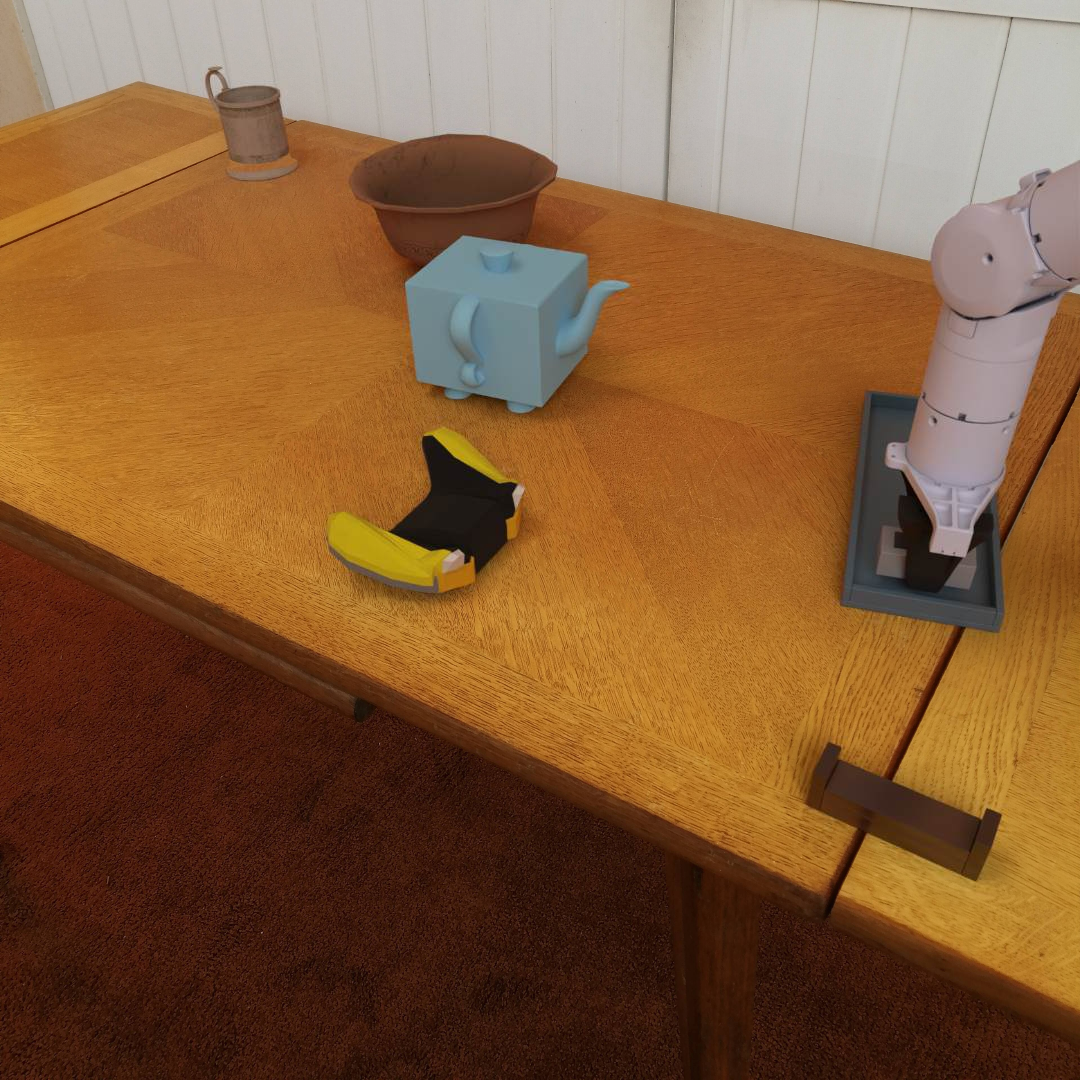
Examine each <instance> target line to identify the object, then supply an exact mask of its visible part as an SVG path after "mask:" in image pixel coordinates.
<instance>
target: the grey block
mask: <svg viewBox="0 0 1080 1080" xmlns="http://www.w3.org/2000/svg"><path fill="white" fill-rule="evenodd" d="M905 567H906V542H905V537H904V534H903V532H902V530H901V528H897V527H891V526H885V525H883V526H882V530H881V535H880V539H879V543H878V548H877V561H876V574H878V575H884V576H890V577H896V578H902V579H905ZM976 568H977V567H976V547H975V548H974V549H973V550H971V551H970V552H969V553H968V554H967V555H966V557H964V558H963V559H962V560H961V561H960V563H959V564H958V565H957V567H956V568H955V570H954V571H953V573H952V574H951V576H950V577H949V579H948V580H947V582H946V583H945V585H944V586H950V587H956V588H962V589H970V586H971V583H972V580H973V577H974V574H975V571H976Z"/></svg>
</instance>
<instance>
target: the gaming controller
mask: <svg viewBox="0 0 1080 1080" xmlns="http://www.w3.org/2000/svg"><path fill="white" fill-rule="evenodd" d="M421 450H422V454H423V457H424V462H425V466H426V470H427V474H428V478H429V483H430V484H429V485H430V490H429V492H428V493H427V495H426V496H425V498H423V499H422V501H420V503H418V504H417V506H416V507H414V508H413V509H412V510H411V511H410V512H409V513H408V514H407V515H405V516H404V518H402V519H401V521H399V522H398V523H397V524H396V525H395V526H394V527H393V528H392V529H390V530H385V529H383V528H380V527H378V526H376V524H373V523H371V522H370V521H368V520H366V519H364V518H362V517H359V516H358V515H355V514H353V513H350V512H349V511H347V510H342V511H338V512H333V513H329V515H328V518H327V522H326V523H327V525H326V541H327V547H328V551H329V552H330V553H331V554H332V555H333V556H334V557H335V558H336V559H337V560H338V561H340V563H342V564H343V566H344V567H346V568H347V569H348V570H350V571H352V572H355V573H358V574H360V575H362V576H365V577H368V578H370V579H373V580H375V581H377V582H380V583H382V584H384V585H387V586H389V587H392V588H397V589H402V590H407V591H411V592H415V593H416V592H417V593H423V594H438V595H440V594H444V593H447V592H450V591H452V590H455V589H457V588H461V587H465V586H470V585H472V584H473V583H475V582H476V576H477V575H478V574H479V573H480V572H481V571H482V569H484V567H485V566H486V565H488V563H489V562H490V561H491V560H492V559H493V558H494V557H495V555H497V553H498V552H499V551H500V550H501V549H502V548H503V547H504V545H505V544H507V543H508V541H510V540H512V539H515V538H517V537H518V535H519V532H520V527H521V522H522V514H523V504H522V497H523V494H524V492H525V490H526V486H525V485H523V484H522V483H520V481H519V480H517V479H515V478H507V477H506V476H505V475H504V474H503V473H502V472H500V470H499V469H498V468H496V467H495V466H494V465H493V464H492V463H491V462H490V461H489V460H488V459H487V458H486V457H485V456H484V455H483V454H482V453H481V452H479V451H478V449H476V447H474V445H472V444H471V443H470V441H468V440H467V439H466V438H465V437H464V436H463V435H462V434H461V433H459V432H457V431H454V430H452V429H450V428H448V427H446V426H442V427H438V428H436V429H435V428H434V429H432V430H429V431H427V432H425V433H423V435H422V438H421Z"/></svg>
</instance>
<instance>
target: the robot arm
mask: <svg viewBox="0 0 1080 1080" xmlns="http://www.w3.org/2000/svg"><path fill="white" fill-rule="evenodd" d="M1018 184H1019V188H1020V189H1019V190H1018V191H1017V192H1016V193H1015V194H1012V195H1009V196H1005V197H1003V198H999V199H997V200H996V199H995V200H993V201H990V202H987V203H985V202H984V203H983V202H982V203H972V204H967V205H965V206H963V207H962V208H960V210H959V211H958V212H957V213H956V214H955V215H954V216H952V217H950V218H949V219H948V220H946V222H945V223H944V224H943V225H942V226H941V227H940V229H939V230H938V232H937V233H936V236H935V238H934V240H933V244H932V247H931V252H930V270H931V276H932V281H933V283H934V286H935V288H936V291H937V293H938V294H939V295H940V297H941V299H942V301H941V305H940V309H939V310H940V311H939V314H938V319H937V322H936V326H935V330H934V335H933V338H932V342H931V348H930V351H929V355H928V358H927V363H926V367H925V371H924V375H923V378H922V379H923V380H922V384H921V387H920V392H919V395H918V396H919V400H918V405H917V409H916V413H915V417H914V421H913V425H912V429H911V433H910V438H909V441H908V442H907V443H896V442H892V443H889V444H888V445H887V449H886V455H885V464H886V465H887V466H888V467H890V468H894V469H900V471H901V474H902V477H903V480H904V483H905V487H906V491H907V496H905V495H899V499H898V521H899V525H900V528H901V530H902V532H903V534H904V537H905V542H906V567H905V581H906V587H907V588H908V589H914V590H920V591H926V592H932V593H938V592H939V591H940V590H941V588H942V587H943V586H944V585H945V583H946V582H947V580H948V579H949V577H950V576H951V574H952V573H953V571H954V570H955V568H956V567H957V565H958V564H959V563H960V561H961V560H962V559H963V558H964V557H966V555H967V554H968V553H969V552H970V551H971V550H973V549H974V548H975V547H977V546H978V545H980V544H982V543H983V542H985V541H987V540H988V539H989V537H990V536H991V534H992V532H993V529H994V518H993V514H989V513H982V512H983V510H984V509H985V507H986V506H987V504H988V503H989V501H990V500H991V498H992V497H993V496H994V494H995V493H996V492H997V491H998V490H999V488H1000V486H1001V484H1002V483H1003V481H1004V479H1005V475H1006V472H1007V465H1006V460H1007V457H1008V454H1009V451H1010V448H1011V445H1012V441H1013V439H1014V435H1015V434H1016V433H1015V432H1016V429H1017V427H1018V424H1019V420H1020V417H1021V414H1022V411H1023V408H1024V405H1025V402H1026V399H1027V395H1028V392H1029V389H1030V386H1031V383H1032V380H1033V377H1034V373H1035V371H1036V368H1037V365H1038V361H1039V358H1040V354H1041V353H1042V347H1043V346H1044V342H1045V339H1046V336H1047V333H1048V330H1049V327H1050V324H1051V321H1052V319H1053V318H1055V317H1056V316H1057V315H1056V314H1057V311H1058V308H1059V305H1060V302H1061V300H1062V298H1063V297H1064V296H1065V294H1066V293H1067V292H1069V291H1071V290H1072V289H1074V288H1076V287H1078V286H1080V159H1079V160H1076V161H1075V162H1072V163H1070V164H1069V165H1066V166H1064V167H1062V168H1060V169H1058V170H1056V171H1054V172H1052V170H1051V168H1049V167H1044V168H1042V169H1039V170H1035V171H1032V172H1030V173H1029V174H1027V175H1024V176H1022V177H1021V178H1020V179H1019V182H1018Z"/></svg>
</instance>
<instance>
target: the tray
mask: <svg viewBox="0 0 1080 1080" xmlns="http://www.w3.org/2000/svg"><path fill="white" fill-rule="evenodd" d="M919 396H920V395H911V394H902V393H896V392H895V393H894V392H886V391H878V390H869V389H865V394H864V399H863V403H862V409H861V419H860V428H859V437H858V445H857V454H856V464H855V470H854V481H853V488H852V489H853V490H852V497H851V507H850V517H849V525H848V533H847V543H846V551H845V552H846V553H845V561H844V570H843V578H842V586H841V595H840V606H843V607H848V608H854V609H859V610H865V611H870V612H876V613H882V614H886V615H887V614H888V615H892V616H893V615H894V616H900V617H905V618H911V619H916V620H922V621H927V622H928V621H929V622H933V623H939V624H945V625H949V626H950V625H952V626H955V627H956V626H957V627H962V628H968V629H973V630H980V631H985V632H991V633H996V634H997V633H998V634H999V631H1000V629H1001V626H1002V623H1003V620H1004V619H1005V615H1006V613H1005V598H1004V597H1005V596H1004V584H1003V583H1004V582H1003V570H1002V569H1003V568H1002V567H1003V565H1002V554H1001V540H1000V524H999V523H1000V522H999V508H998V496H997V494H998V492H997V491H996V493H995V494H994V496H993V497H992V498H991V500H990V501H989V503H988V504H987V506H986V507H985V509H984V510H983V512H982V513H989V514H993V518H994V529H993V532H992V534H991V536H990V537H989V539H988V540H987V541H985V542H983V543H982V544H980V545H978V546H977V547H976V567H977V568H976V571H975V574H974V577H973V580H972V583H971V586H970V589H962V588H956V587H950V586H943V587H942V588H941V590H940V591H939V592H938V593H932V592H926V591H920V590H914V589H908V588H907V587H906V581H905V579H902V578H896V577H890V576H884V575H878V574H876V561H877V548H878V543H879V539H880V535H881V530H882V526H883V525H885V526H891V527H897V528H900V525H899V521H898V499H899V495H905V496H907V491H906V487H905V483H904V480H903V477H902V474H901V471H900V469H894V468H890V467H888V466H887V465H886V464H885V455H886V449H887V445H888V444H889V443H892V442H896V443H907V442H908V441H909V438H910V433H911V429H912V425H913V421H914V417H915V413H916V409H917V405H918V400H919Z"/></svg>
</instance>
